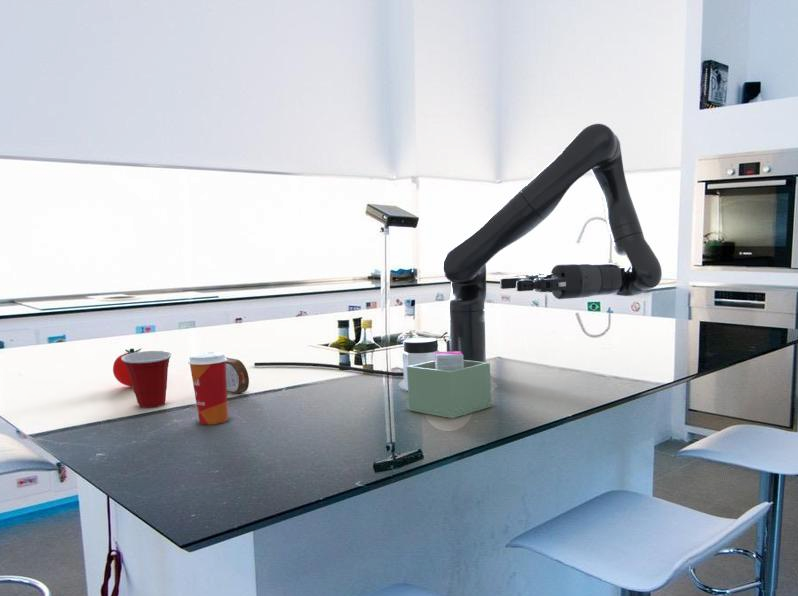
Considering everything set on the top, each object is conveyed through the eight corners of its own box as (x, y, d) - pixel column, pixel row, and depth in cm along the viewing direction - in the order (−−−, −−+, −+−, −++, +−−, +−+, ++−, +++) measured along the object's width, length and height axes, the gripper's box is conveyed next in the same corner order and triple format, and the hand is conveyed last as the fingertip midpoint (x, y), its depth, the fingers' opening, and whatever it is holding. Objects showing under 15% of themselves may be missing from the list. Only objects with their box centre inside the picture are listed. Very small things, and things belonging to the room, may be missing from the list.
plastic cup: (129, 412, 168) (122, 359, 166) (125, 404, 178) (118, 353, 175) (180, 406, 173) (174, 354, 171) (173, 397, 183) (167, 349, 180)
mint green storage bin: (408, 410, 160) (406, 366, 158) (448, 399, 169) (446, 357, 167) (452, 418, 152) (450, 372, 150) (491, 406, 161) (489, 362, 159)
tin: (251, 394, 184) (248, 359, 182) (240, 396, 182) (236, 361, 180) (218, 387, 194) (215, 354, 192) (207, 389, 192) (204, 356, 190)
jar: (444, 391, 178) (443, 340, 176) (412, 394, 176) (409, 343, 173) (432, 384, 187) (430, 336, 184) (401, 388, 184) (398, 339, 182)
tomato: (106, 389, 197) (101, 351, 195) (136, 381, 207) (131, 345, 205) (136, 390, 193) (132, 352, 191) (166, 382, 203) (161, 346, 201)
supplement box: (465, 408, 158) (463, 354, 156) (437, 409, 158) (434, 355, 155) (462, 402, 164) (461, 350, 161) (435, 403, 163) (433, 351, 161)
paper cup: (199, 417, 161) (192, 352, 158) (236, 415, 162) (229, 351, 159) (190, 426, 153) (182, 358, 151) (228, 424, 154) (222, 357, 151)
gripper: (560, 262, 172) (495, 266, 167) (592, 264, 159) (522, 268, 154) (560, 295, 174) (495, 300, 169) (592, 300, 161) (522, 305, 156)
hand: (508, 284), depth 161 cm, fingers open, 8 cm apart
